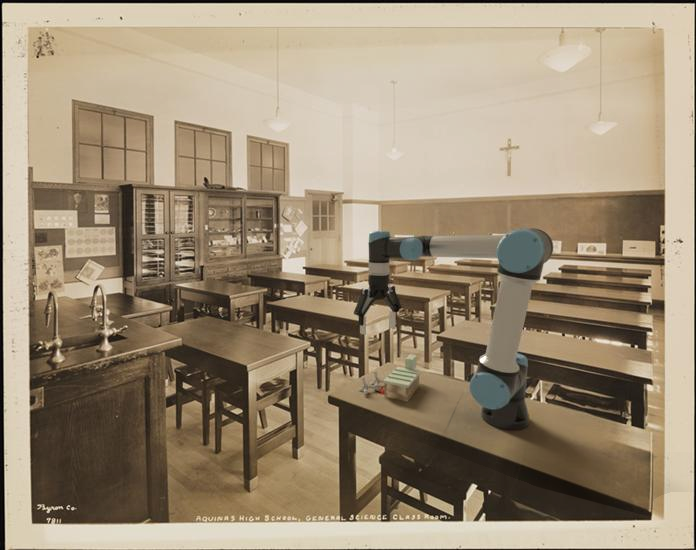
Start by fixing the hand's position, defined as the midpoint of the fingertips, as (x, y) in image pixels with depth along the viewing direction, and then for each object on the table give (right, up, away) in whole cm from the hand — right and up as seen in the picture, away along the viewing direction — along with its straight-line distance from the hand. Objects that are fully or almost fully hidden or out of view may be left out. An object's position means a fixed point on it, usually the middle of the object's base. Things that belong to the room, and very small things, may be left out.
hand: (378, 331), depth 150 cm
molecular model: (-1, -25, +9) cm, 27 cm away
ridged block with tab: (+11, -19, +9) cm, 24 cm away
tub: (+10, -25, +8) cm, 28 cm away
